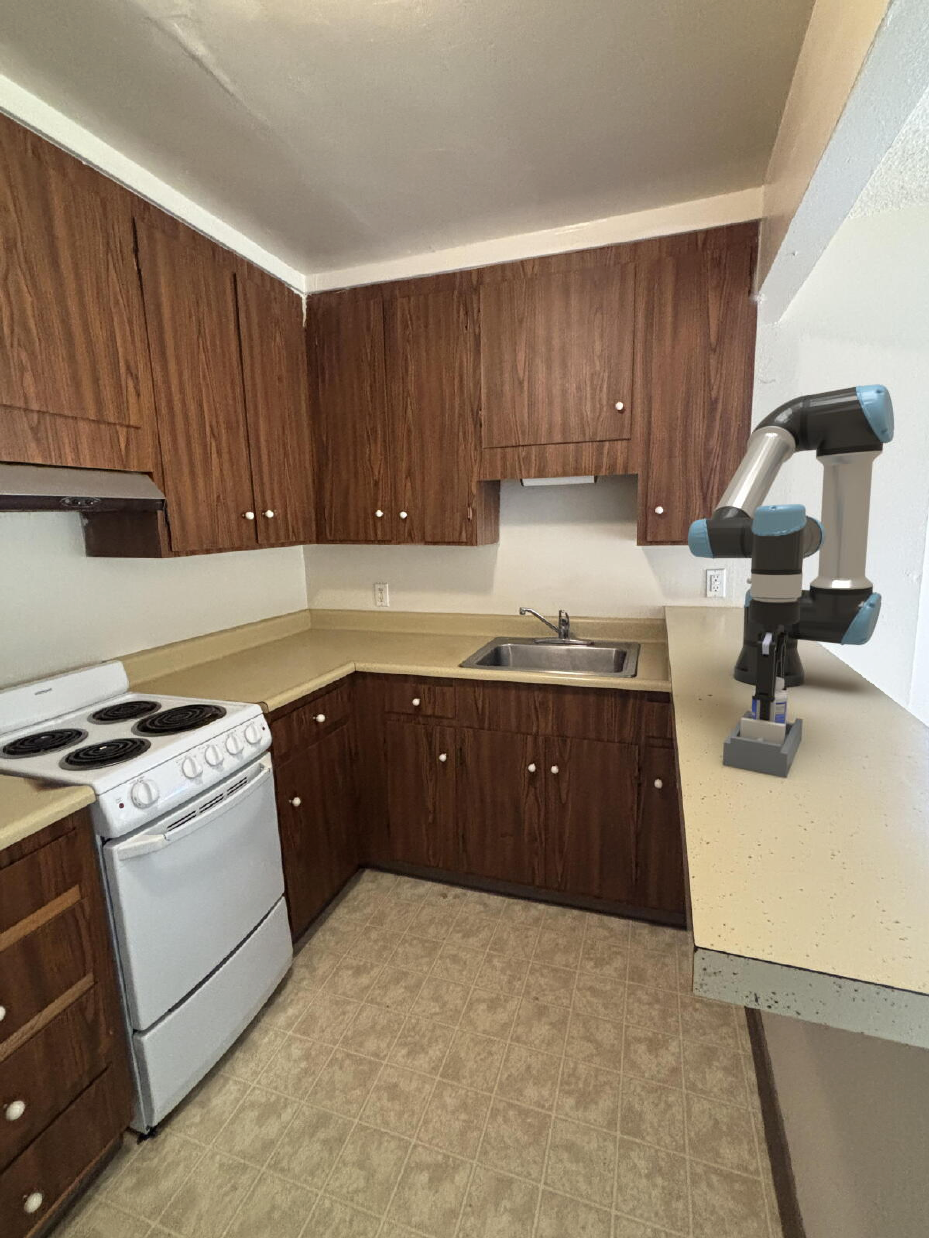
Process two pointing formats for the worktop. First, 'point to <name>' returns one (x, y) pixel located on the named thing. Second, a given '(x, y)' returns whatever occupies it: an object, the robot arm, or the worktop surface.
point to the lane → (762, 750)
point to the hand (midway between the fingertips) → (767, 730)
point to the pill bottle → (780, 700)
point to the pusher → (763, 731)
